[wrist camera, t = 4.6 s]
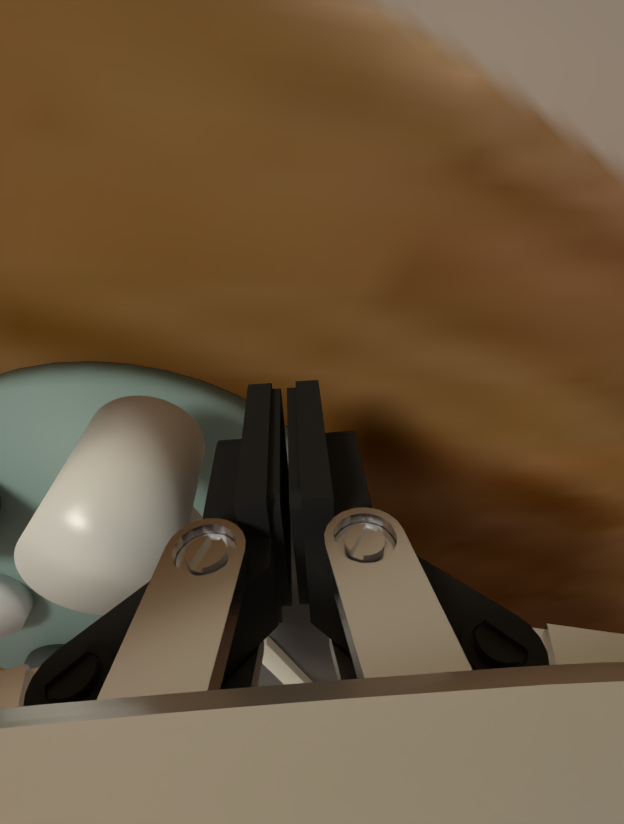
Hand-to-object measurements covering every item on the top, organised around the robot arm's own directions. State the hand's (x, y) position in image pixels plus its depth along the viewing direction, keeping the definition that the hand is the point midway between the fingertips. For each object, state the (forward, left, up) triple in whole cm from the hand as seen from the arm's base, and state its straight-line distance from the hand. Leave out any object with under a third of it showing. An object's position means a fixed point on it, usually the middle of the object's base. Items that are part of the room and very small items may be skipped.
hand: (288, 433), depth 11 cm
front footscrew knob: (-5, +2, -3) cm, 6 cm away
